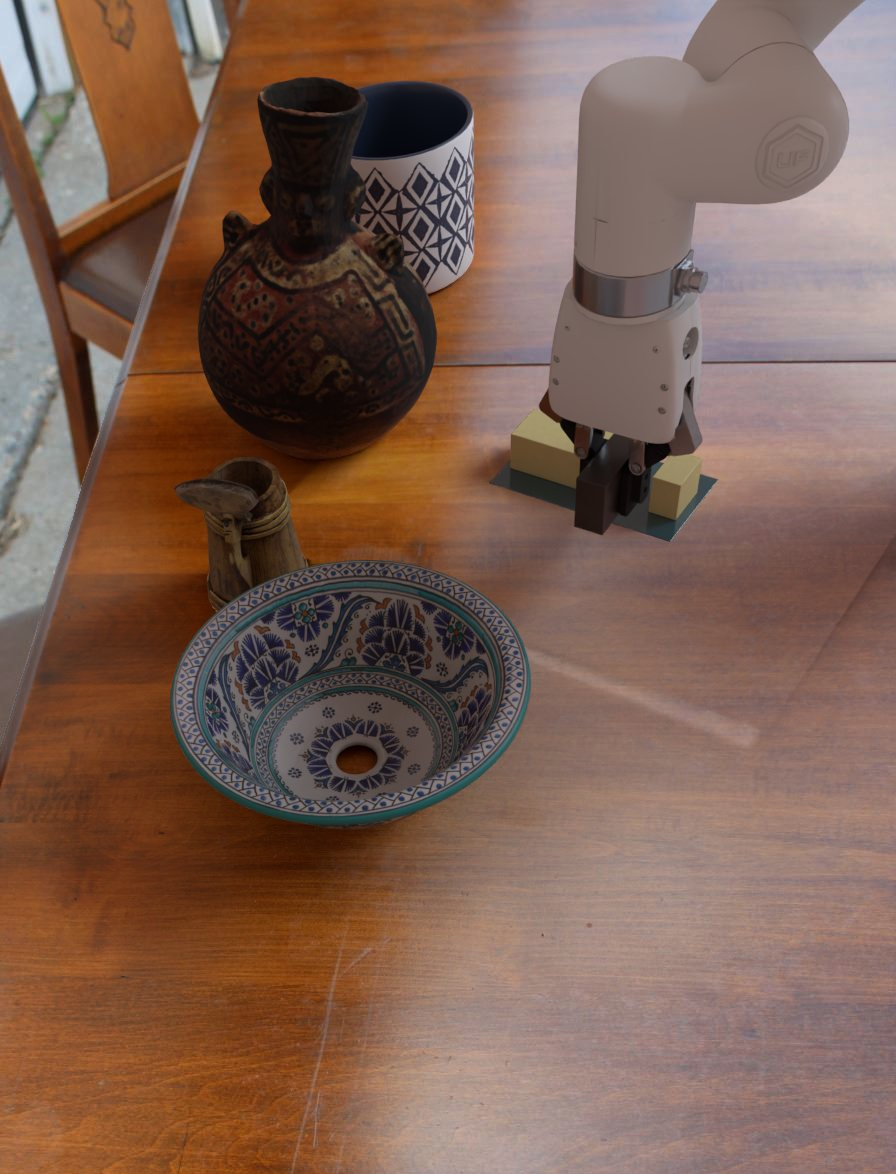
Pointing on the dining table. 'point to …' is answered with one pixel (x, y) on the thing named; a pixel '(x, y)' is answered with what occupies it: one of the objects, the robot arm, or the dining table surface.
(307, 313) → the ceramic vessel
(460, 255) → the planter
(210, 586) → the wooden mug
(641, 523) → the flat slate board
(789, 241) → the dining table surface
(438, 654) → the bowl
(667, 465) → the butter slice
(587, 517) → the knife
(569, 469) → the butter stick
